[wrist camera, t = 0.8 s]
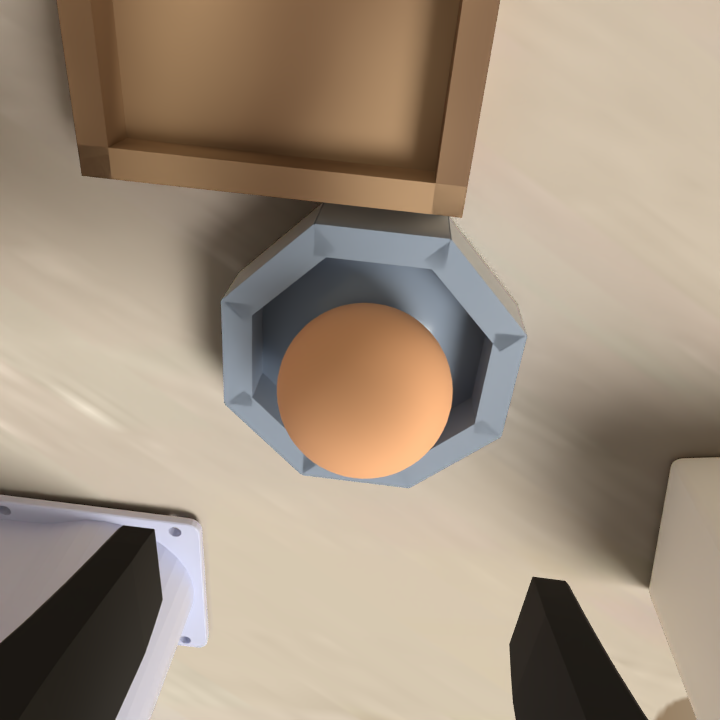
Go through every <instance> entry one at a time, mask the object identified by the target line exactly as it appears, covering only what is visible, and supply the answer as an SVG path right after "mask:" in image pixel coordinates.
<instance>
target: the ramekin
mask: <svg viewBox="0 0 720 720" xmlns="http://www.w3.org/2000/svg"><path fill="white" fill-rule="evenodd" d="M353 303H376V304H382V305H386V306H390V307H393V308H396V309H398V310H401V311H403V312H405V313H407V314H409V315H410V316H412V317H414V318H415V319H416V320H418V321H419V322H420V323H422V324H423V325H424V326H425V327H426V328H427V329H428V330H429V331H430V332H431V333H432V335H433V336H434V337H435V339H436V340H437V341H438V343H439V344H440V346H441V348H442V350H443V352H444V354H445V356H446V358H447V361H448V364H449V367H450V372H451V377H452V387H453V395H452V405H451V410H450V413H449V417H448V420H447V423H446V425H445V428H444V430H443V432H442V434H441V435H440V437H439V439H438V440H437V442H436V443H435V445H434V446H433V447H432V448H431V449H430V450H429V451H428V452H427V453H426V454H425V455H424V456H423V457H422V458H421V459H420V460H419V461H417V462H416V463H414V464H413V465H411V466H409V467H408V468H406V469H404V470H402V471H400V472H398V473H395V474H392V475H389V476H385V477H379V478H370V479H359V478H351V477H345V476H342V475H338V474H335V473H333V472H330V471H328V470H326V469H324V468H322V467H320V466H318V465H317V464H315V463H314V462H312V461H311V460H310V459H309V458H307V457H306V456H305V455H304V454H303V453H302V452H301V451H300V450H299V448H298V447H297V446H296V445H295V444H294V442H293V441H292V440H291V438H290V436H289V434H288V432H287V431H286V429H285V427H284V424H283V422H282V419H281V416H280V412H279V407H278V402H277V380H278V374H279V370H280V366H281V362H282V360H283V357H284V355H285V353H286V351H287V349H288V347H289V345H290V344H291V342H292V341H293V339H294V338H295V337H296V335H297V334H298V333H299V332H300V331H301V330H302V329H303V328H304V327H305V326H306V325H307V324H308V323H309V322H310V321H312V320H313V319H315V318H316V317H318V316H319V315H321V314H323V313H324V312H327V311H329V310H331V309H333V308H336V307H339V306H342V305H347V304H353ZM221 320H222V350H223V380H224V403H225V405H226V406H227V407H228V408H229V409H230V410H232V411H233V412H234V413H235V414H236V415H237V416H238V417H239V418H240V419H241V420H242V421H243V422H245V423H246V424H247V425H248V426H249V427H250V428H251V429H252V430H253V431H254V432H255V433H257V434H258V435H259V436H260V437H261V438H262V439H263V440H264V441H265V442H266V443H267V444H268V445H270V446H271V447H272V448H273V449H274V450H275V451H276V452H277V453H278V454H279V455H280V456H282V457H283V458H284V459H285V460H286V461H287V462H288V463H289V464H290V465H291V466H292V467H293V468H295V469H296V470H297V471H298V472H299V473H300V474H302V475H305V476H313V477H322V478H330V479H338V480H346V481H354V482H362V483H371V484H379V485H387V486H395V487H403V488H410V487H412V486H414V485H416V484H418V483H419V482H421V481H423V480H425V479H427V478H428V477H430V476H432V475H434V474H436V473H437V472H439V471H441V470H443V469H445V468H446V467H448V466H450V465H452V464H454V463H455V462H457V461H459V460H461V459H463V458H464V457H466V456H468V455H470V454H472V453H473V452H475V451H477V450H479V449H481V448H482V447H484V446H486V445H488V444H490V443H491V442H493V441H495V440H497V439H499V438H500V436H502V432H503V428H504V424H505V420H506V417H507V413H508V409H509V405H510V401H511V397H512V393H513V389H514V385H515V382H516V378H517V374H518V370H519V366H520V362H521V358H522V354H523V351H524V347H525V343H526V339H527V334H526V331H525V327H524V324H523V321H522V318H521V314H520V311H519V308H518V304H517V303H516V302H515V301H514V299H513V298H512V297H511V295H510V294H509V293H508V292H507V290H506V289H505V288H504V286H503V285H502V284H501V282H500V281H499V280H498V279H497V277H496V276H495V275H494V273H493V272H492V271H491V270H490V268H489V267H488V266H487V264H486V263H485V262H484V261H483V259H482V258H481V257H480V255H479V254H478V253H477V251H476V250H475V249H474V248H473V246H472V245H471V244H470V242H469V241H468V240H467V239H466V237H465V236H464V235H463V233H462V232H461V231H460V230H459V228H458V227H457V226H456V224H455V223H454V222H453V221H452V219H451V218H450V217H449V216H442V215H433V214H424V213H415V212H405V211H396V210H387V209H378V208H369V207H360V206H351V205H342V204H333V203H324V202H323V203H322V204H321V205H319V206H318V207H317V208H316V209H315V210H313V211H312V212H311V213H310V214H309V215H307V216H306V217H305V218H304V219H303V220H301V221H300V222H299V223H298V224H297V225H295V226H294V227H293V228H292V229H291V230H289V231H288V232H287V233H286V234H285V235H283V236H282V237H281V238H280V239H279V240H277V241H276V242H275V243H274V244H273V245H271V246H270V247H269V248H268V249H267V250H265V251H264V252H263V253H262V254H261V255H259V256H258V257H257V258H256V259H255V260H253V261H252V262H251V263H250V264H249V265H247V266H246V267H245V268H244V269H243V270H241V271H240V272H239V273H238V275H237V276H236V278H235V279H234V281H233V283H232V284H231V286H230V287H229V289H228V290H227V292H226V294H225V295H224V297H223V298H222V300H221Z"/></svg>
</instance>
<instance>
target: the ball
mask: <svg viewBox="0 0 720 720" xmlns="http://www.w3.org/2000/svg"><path fill="white" fill-rule="evenodd" d="M452 395H453V387H452V377H451V372H450V367H449V364H448V361H447V358H446V356H445V354H444V352H443V350H442V348H441V346H440V344H439V343H438V341H437V340H436V339H435V337H434V336H433V335H432V333H431V332H430V331H429V330H428V329H427V328H426V327H425V326H424V325H423V324H422V323H420V322H419V321H418V320H416V319H415V318H414V317H412V316H410V315H409V314H407V313H405V312H403V311H401V310H398V309H396V308H393V307H390V306H386V305H382V304H376V303H353V304H347V305H342V306H339V307H336V308H333V309H331V310H329V311H327V312H324V313H323V314H321V315H319V316H318V317H316V318H315V319H313V320H312V321H310V322H309V323H308V324H307V325H306V326H305V327H304V328H303V329H302V330H301V331H300V332H299V333H298V334H297V335H296V337H295V338H294V339H293V341H292V342H291V344H290V345H289V347H288V349H287V351H286V353H285V355H284V357H283V360H282V362H281V366H280V370H279V374H278V380H277V402H278V407H279V412H280V416H281V419H282V422H283V424H284V427H285V429H286V431H287V432H288V434H289V436H290V438H291V440H292V441H293V442H294V444H295V445H296V446H297V447H298V448H299V450H300V451H301V452H302V453H303V454H304V455H305V456H306V457H307V458H309V459H310V460H311V461H312V462H314V463H315V464H317V465H318V466H320V467H322V468H324V469H326V470H328V471H330V472H333V473H335V474H338V475H342V476H345V477H351V478H359V479H370V478H379V477H385V476H389V475H392V474H395V473H398V472H400V471H402V470H404V469H406V468H408V467H409V466H411V465H413V464H414V463H416V462H417V461H419V460H420V459H421V458H422V457H423V456H424V455H425V454H426V453H427V452H428V451H429V450H430V449H431V448H432V447H433V446H434V445H435V443H436V442H437V440H438V439H439V437H440V435H441V434H442V432H443V430H444V428H445V425H446V423H447V420H448V417H449V413H450V410H451V405H452Z"/></svg>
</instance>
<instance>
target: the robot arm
mask: <svg viewBox="0 0 720 720" xmlns="http://www.w3.org/2000/svg"><path fill="white" fill-rule="evenodd" d="M174 527H175V528H174ZM176 528H178V529H176ZM208 638H209V629H208V613H207V597H206V582H205V566H204V550H203V535H202V527H201V525H200V524H199V522H198V521H196V520H194V519H191V518H184V517H176V516H168V515H160V514H152V513H144V512H136V511H128V510H120V509H112V508H104V507H96V506H88V505H80V504H72V503H64V502H56V501H48V500H40V499H32V498H24V497H16V496H8V495H0V720H150V718H151V715H152V713H153V710H154V707H155V705H156V702H157V699H158V696H159V694H160V691H161V688H162V686H163V683H164V680H165V677H166V675H167V672H168V669H169V667H170V664H171V661H172V659H173V656H174V653H175V650H176V648H177V645H183V646H190V647H203V646H205V645H206V644H207V641H208ZM509 646H510V665H511V681H512V695H513V705H514V711H515V718H516V720H648V719H647V717H646V716H645V714H644V713H643V711H642V710H641V708H640V706H639V705H638V703H637V702H636V700H635V698H634V697H633V695H632V694H631V692H630V690H629V689H628V687H627V686H626V684H625V682H624V681H623V679H622V678H621V676H620V674H619V673H618V671H617V670H616V668H615V666H614V665H613V663H612V661H611V660H610V658H609V656H608V654H607V653H606V651H605V649H604V648H603V646H602V644H601V642H600V641H599V639H598V637H597V635H596V634H595V632H594V630H593V628H592V627H591V625H590V623H589V621H588V619H587V618H586V616H585V614H584V612H583V610H582V609H581V607H580V605H579V603H578V601H577V599H576V597H575V596H574V594H573V592H572V590H571V588H570V586H569V585H568V584H567V582H566V581H562V580H554V579H546V578H538V577H532V580H531V583H530V586H529V589H528V592H527V595H526V598H525V600H524V603H523V606H522V609H521V612H520V615H519V618H518V621H517V624H516V627H515V630H514V633H513V635H512V638H511V641H510V644H509Z"/></svg>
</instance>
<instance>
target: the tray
mask: <svg viewBox="0 0 720 720" xmlns="http://www.w3.org/2000/svg"><path fill="white" fill-rule="evenodd" d="M56 1H57V8H58V14H59V21H60V28H61V35H62V42H63V49H64V56H65V63H66V70H67V77H68V84H69V90H70V97H71V104H72V111H73V118H74V125H75V132H76V139H77V146H78V153H79V160H80V167H81V173H82V176H89V177H98V178H107V179H116V180H125V181H134V182H143V183H152V184H161V185H170V186H179V187H188V188H197V189H206V190H215V191H224V192H234V193H243V194H252V195H261V196H270V197H279V198H288V199H297V200H306V201H315V202H324V203H333V204H342V205H351V206H360V207H369V208H378V209H387V210H396V211H405V212H415V213H424V214H433V215H442V216H451V217H460V218H462V215H463V209H464V203H465V198H466V192H467V186H468V180H469V175H470V169H471V163H472V158H473V152H474V146H475V141H476V135H477V129H478V123H479V118H480V112H481V106H482V101H483V95H484V89H485V84H486V78H487V72H488V67H489V61H490V55H491V49H492V44H493V38H494V32H495V27H496V21H497V15H498V10H499V4H500V0H56Z"/></svg>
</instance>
